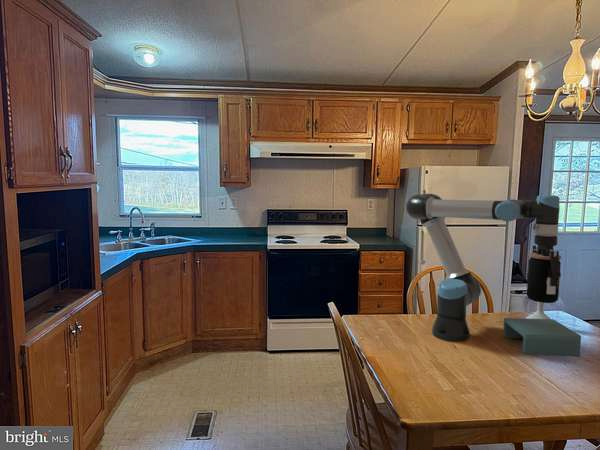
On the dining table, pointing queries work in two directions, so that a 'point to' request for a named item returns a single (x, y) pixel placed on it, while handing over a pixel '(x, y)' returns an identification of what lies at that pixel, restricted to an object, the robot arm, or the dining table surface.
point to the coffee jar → (540, 279)
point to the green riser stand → (543, 336)
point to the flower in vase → (538, 313)
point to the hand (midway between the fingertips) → (542, 289)
